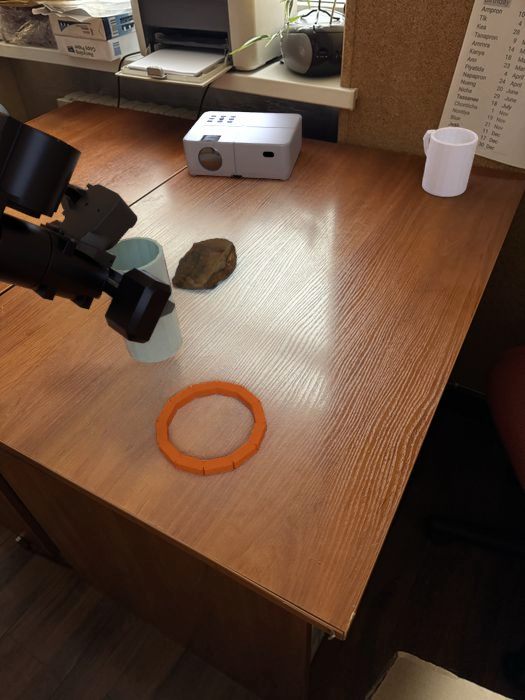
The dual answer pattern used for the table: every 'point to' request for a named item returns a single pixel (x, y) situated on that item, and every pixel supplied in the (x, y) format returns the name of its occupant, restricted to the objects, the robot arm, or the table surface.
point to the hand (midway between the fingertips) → (153, 295)
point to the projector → (244, 144)
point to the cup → (168, 330)
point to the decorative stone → (206, 264)
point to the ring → (218, 463)
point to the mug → (448, 160)
